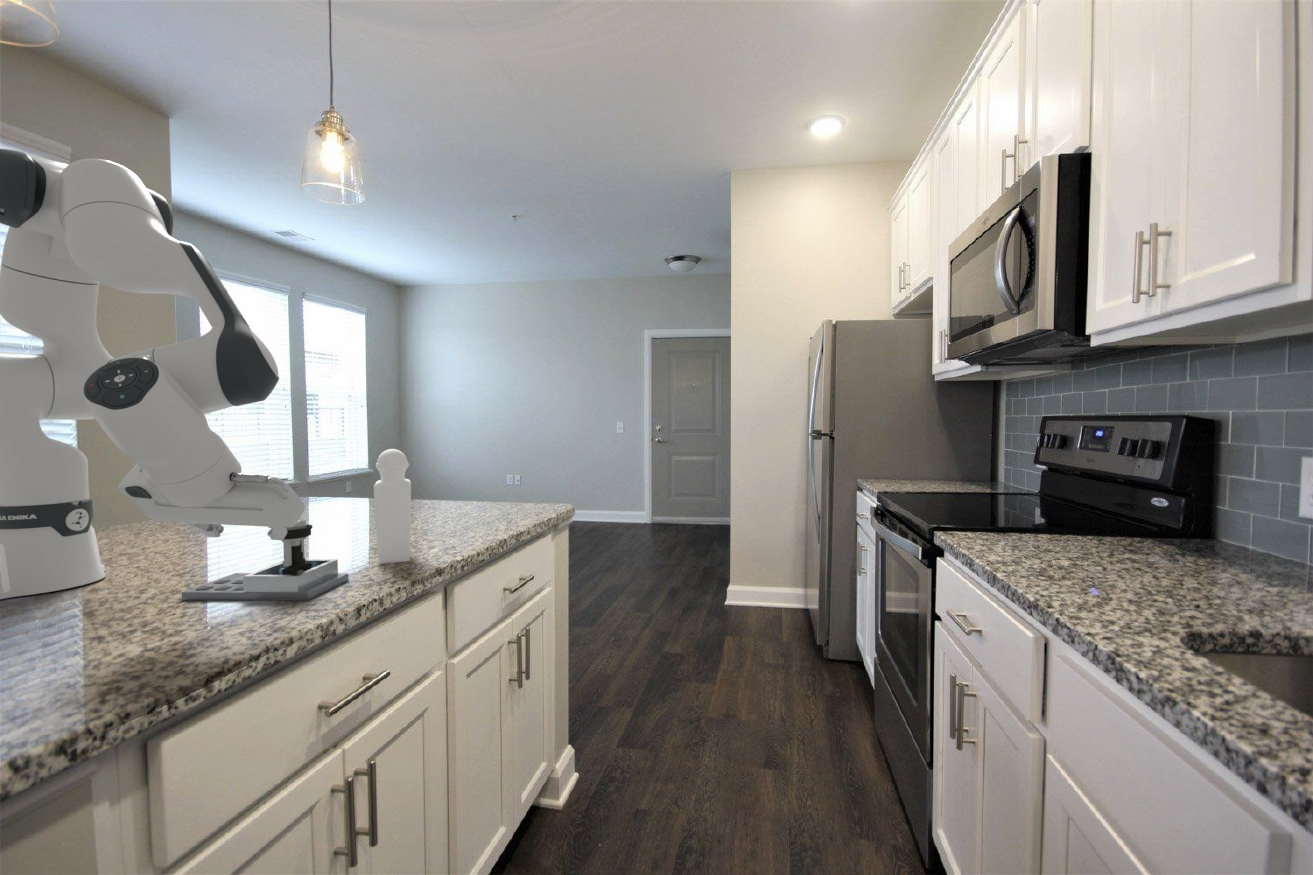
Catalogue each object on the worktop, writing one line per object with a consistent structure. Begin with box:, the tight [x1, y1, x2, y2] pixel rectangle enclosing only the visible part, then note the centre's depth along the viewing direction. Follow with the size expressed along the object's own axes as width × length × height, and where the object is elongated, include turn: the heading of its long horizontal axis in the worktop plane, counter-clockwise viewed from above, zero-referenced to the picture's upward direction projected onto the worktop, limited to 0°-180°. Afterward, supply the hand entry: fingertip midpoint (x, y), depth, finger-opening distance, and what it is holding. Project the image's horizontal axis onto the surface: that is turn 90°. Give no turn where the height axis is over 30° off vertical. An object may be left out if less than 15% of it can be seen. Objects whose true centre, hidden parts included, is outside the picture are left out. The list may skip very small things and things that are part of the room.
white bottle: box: [373, 448, 412, 565], centre depth 114 cm, size 6×6×22 cm
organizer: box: [181, 558, 349, 601], centre depth 95 cm, size 20×11×4 cm, turn 88°
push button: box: [279, 518, 313, 575], centre depth 94 cm, size 7×5×10 cm
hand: (248, 534), depth 85 cm, fingers open, 8 cm apart
